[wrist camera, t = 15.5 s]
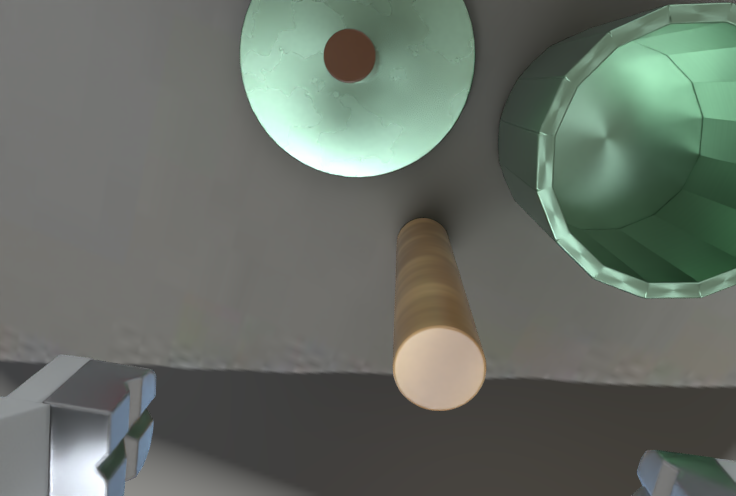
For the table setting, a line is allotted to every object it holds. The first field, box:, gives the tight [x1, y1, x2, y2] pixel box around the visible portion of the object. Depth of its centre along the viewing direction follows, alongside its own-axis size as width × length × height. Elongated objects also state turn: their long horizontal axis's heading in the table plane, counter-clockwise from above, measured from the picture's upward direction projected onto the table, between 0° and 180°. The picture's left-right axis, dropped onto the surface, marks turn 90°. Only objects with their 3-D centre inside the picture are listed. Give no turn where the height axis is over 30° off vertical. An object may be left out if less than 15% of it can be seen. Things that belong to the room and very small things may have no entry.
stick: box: [393, 218, 486, 411], centre depth 29 cm, size 3×3×17 cm
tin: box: [498, 2, 736, 299], centre depth 30 cm, size 11×11×10 cm
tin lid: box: [240, 0, 475, 178], centre depth 32 cm, size 12×12×6 cm
